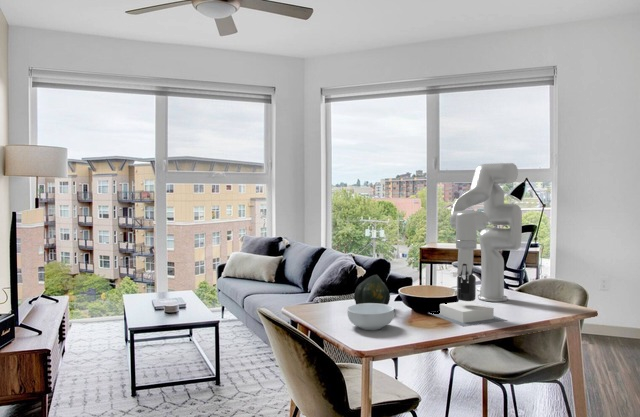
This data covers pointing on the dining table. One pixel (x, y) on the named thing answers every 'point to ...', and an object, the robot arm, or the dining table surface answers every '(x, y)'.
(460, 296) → the supplement bottle
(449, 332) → the dining table surface
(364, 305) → the cereal bowl
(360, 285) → the squash
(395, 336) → the dining table surface
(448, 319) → the mat
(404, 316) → the dining table surface
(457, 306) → the plinth block
